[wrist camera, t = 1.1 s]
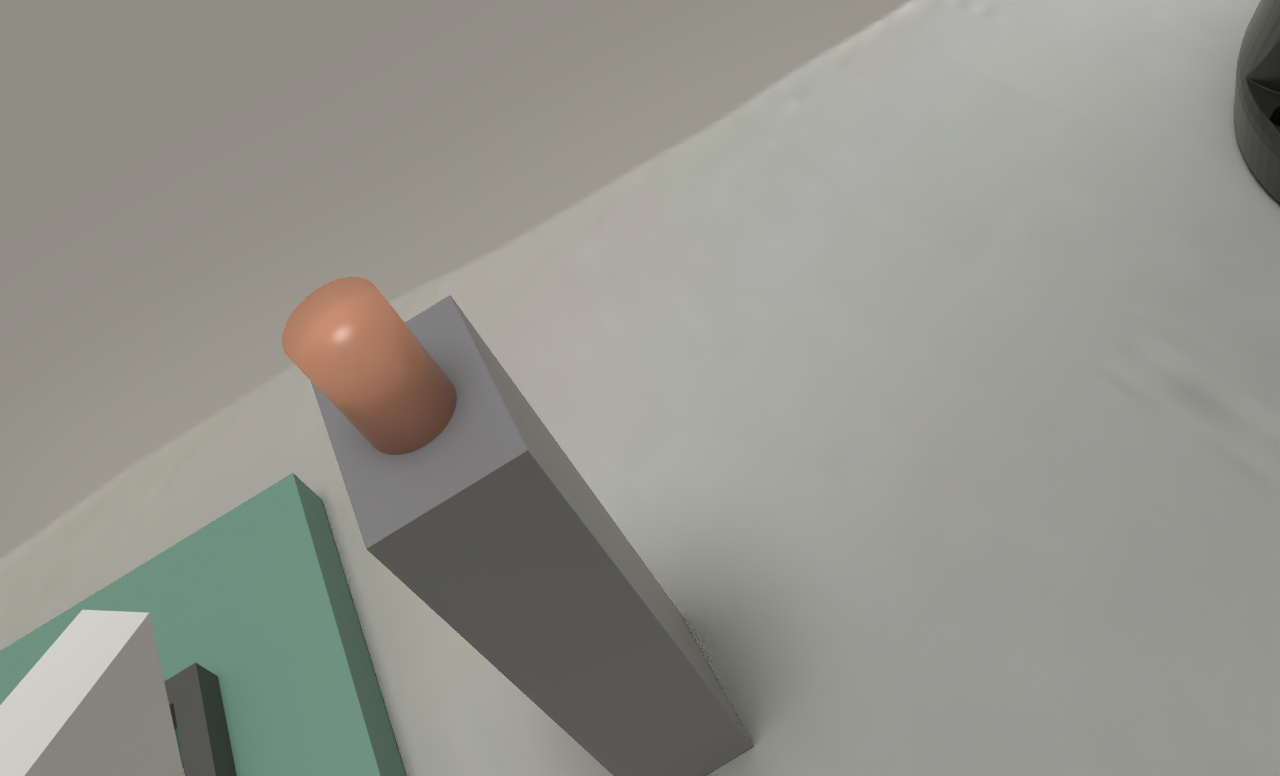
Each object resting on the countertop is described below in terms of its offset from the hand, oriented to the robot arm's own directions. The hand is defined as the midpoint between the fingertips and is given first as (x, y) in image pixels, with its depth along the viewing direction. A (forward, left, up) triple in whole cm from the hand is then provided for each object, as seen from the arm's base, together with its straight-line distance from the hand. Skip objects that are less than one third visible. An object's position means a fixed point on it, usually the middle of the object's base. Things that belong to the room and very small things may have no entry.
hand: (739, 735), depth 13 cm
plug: (-3, -11, -20) cm, 23 cm away
